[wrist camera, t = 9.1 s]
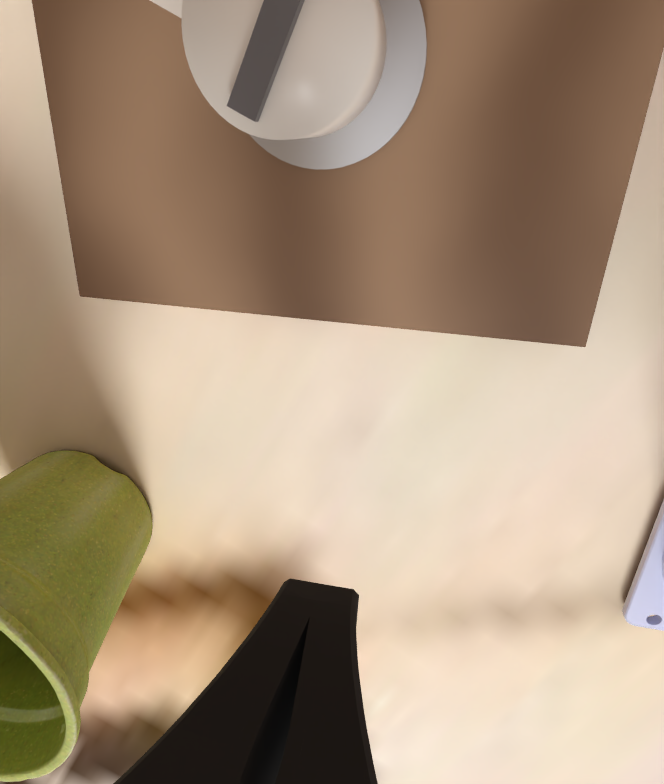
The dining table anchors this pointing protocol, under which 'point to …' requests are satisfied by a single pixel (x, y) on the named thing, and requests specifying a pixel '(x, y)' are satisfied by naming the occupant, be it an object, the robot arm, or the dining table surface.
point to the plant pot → (59, 596)
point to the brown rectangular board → (361, 169)
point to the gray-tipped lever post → (284, 61)
